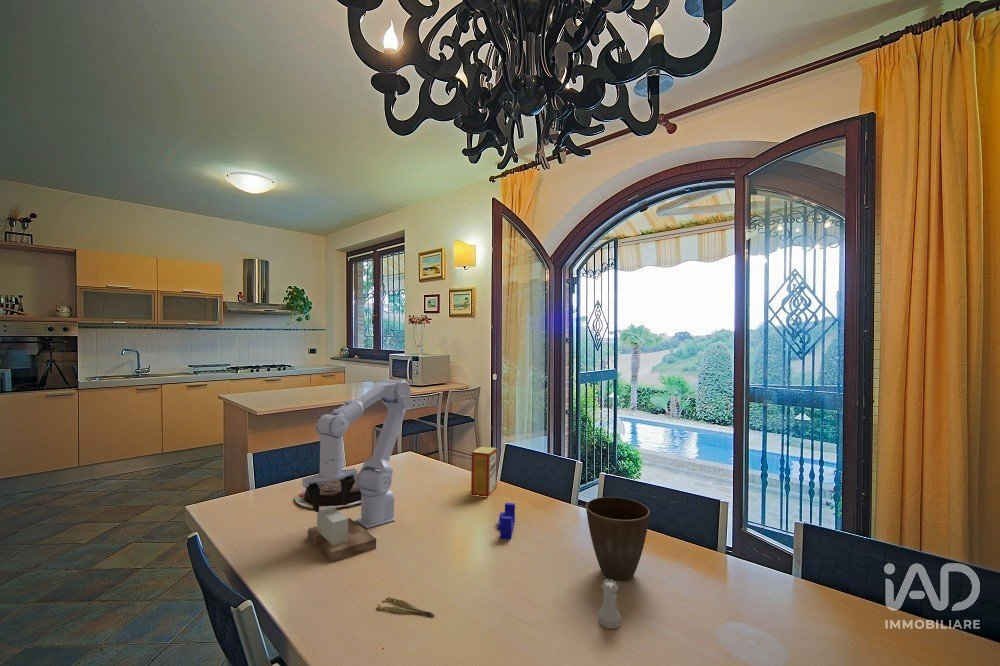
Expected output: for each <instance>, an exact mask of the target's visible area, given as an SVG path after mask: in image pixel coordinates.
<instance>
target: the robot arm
mask: <svg viewBox="0 0 1000 666" xmlns="http://www.w3.org/2000/svg"><path fill="white" fill-rule="evenodd" d="M411 393H412V389H411V385H410V384H409V382H408V381H407V380H405V379H401V380H398V379H387V378H382V379H380V380H378V381H377V382H375V384H374V386H372V388H370V389H369V390H368V391H366V393H364V394H363V395H362V396H360V397H359V398H358V399H347V400H346V401H344V404H342V406H339V407H338V408H337V409H333V410H332V412H331V413H330V414H328V413H327V414H323V415H322V416H321V417H320V418H319V419H318V421H317V423H316V425H315V432H316V433H317V434H318V440H319V449H320V450H319V473H318V474H314V475H312V476H309V477H305V478H304V477H303V478H302V479H301V480H302V483H301V484H302V485H301V486H302V487H303V488H305V489H307V491H308V493H309V495H310V497H311V500H312V504H313V509H312V510H313V511H314V512H315V513H317V512H319V495H320V490H321V489H320V488H319V487H318V485H317V484H321V483H325V482H330V481H335V480H340V482H341V504H343V505H346V504H347V500H348V497H349V494H350V491H351V489H352V487H353V485H354V484H355V479H354V478H353V477H356V484H357V486H358V488H360V492H361V504H360V517H357V518H355V522H356V523H359V524H361V525H360V526H363V528H365V529H369V528H373V527H376V526H380V525H384V524H387V523H390V522H394V521H396V518H395V497H394V496H395V495H394V493H393V491H392V489H390V488H391V485H392V477H393V472H394V470H393V468H392V466H391V465H390V459H391V457H392V454H393V451H394V447H395V444H396V441H397V439H398V435H399V432H400V429H401V427H402V423H403V421H404V417H405V415H406V411H407V405H408V404H409V400H410V398H411ZM379 401H381V402H382V403H383V404H384V406H386V408H387V413H386V415H385V419H384V422H383V424H382V428H381V430H380V433H379V436H378V439H377V441H376V445H375V447H374V450H373V452H372V453H373V454H372V456H371V457H370V459H368V460H366V461H365V462H363V465H362V467H361V468H360V470H359V471H358V470H357V469H356V468H349V469H343V436H344V435H345V434H346V432H347V429H348V428H349V427H350V425H352V424H353V423H354V422H356V421H357V420H358V419H360V418H361V417H362V416H364V415H363V414H364V410H366V409H368V408H369V407H371V406H372V405H373V404H375V403H377V402H379Z"/></svg>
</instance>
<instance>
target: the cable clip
mask: <svg viewBox="0 0 1000 666" xmlns="http://www.w3.org/2000/svg"><path fill="white" fill-rule="evenodd" d="M514 523H516V503H515V502H514V503H513V502H505V503H504V511H502V512H501V511H500V513H499V517H498V523H497V530H498V529H499V531H500V540H512V537H513V533H512V532H514V528H515V524H514Z"/></svg>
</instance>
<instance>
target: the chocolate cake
mask: <svg viewBox="0 0 1000 666" xmlns="http://www.w3.org/2000/svg"><path fill="white" fill-rule="evenodd" d="M353 478H354V479H355V484H354V485H353V487H352V489H351V491H350V494H349V497H348V500H347V504H346V505H343V504H341V482H340V480H335V481H330V482H325V483H321V484H317V485H318V487H319V488H320V489H321V490H320V495H319V508H323V507H327V506H333V507H334V508H336V509H337V510H338V509H342V508H353V507H352V506H354V507H357V506H359V505H361V492H360V488H358V486H357V484H356V477H353ZM294 502H295V504H297V505H299V506H300V505H301V507H303V508H305V507H306V509H309V510H313V504H312V500H311V497H310V495H309V493H308V491H307V489H306V488H305V489H303V490H301V491H300V492H298V493H297V494H296V495H295V496H294ZM356 505H357V506H356ZM341 507H342V508H341Z"/></svg>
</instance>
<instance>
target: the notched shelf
mask: <svg viewBox="0 0 1000 666" xmlns="http://www.w3.org/2000/svg"><path fill="white" fill-rule="evenodd" d="M347 518H348V542H344V543H341V544H337V545H334V546H332V545H331V544H330V543H329V542H328V541H327V540H326V539H325V538H324V537H323V536H322V535H321V534H320V533H319V532H318V531H317V525H316V526H313V527H309V528H307V538H308V540H309V541H310V542H311V543H312V544H313V543H314V544H315V545H317V546H321V545H322V546H321V550H322V551H321V553H322V554H323V555H324V556H325V558H327V560H328V561H329V560H330V561H329V562H330V563H334V562H336V561H340V560H342V559H347V558H349V557H352V556H357V555H359V554H362V553H365V552H368V551H372V550H375V549H377V538H376V537H375V536H373V535H372V533H370V532H368V530H366V529H364V527H362V525H359V524H358V522H357V521H354V520H353V519H352V518H351V517H347ZM314 544H313V545H314ZM320 544H321V545H320ZM315 545H314V546H315Z"/></svg>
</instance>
